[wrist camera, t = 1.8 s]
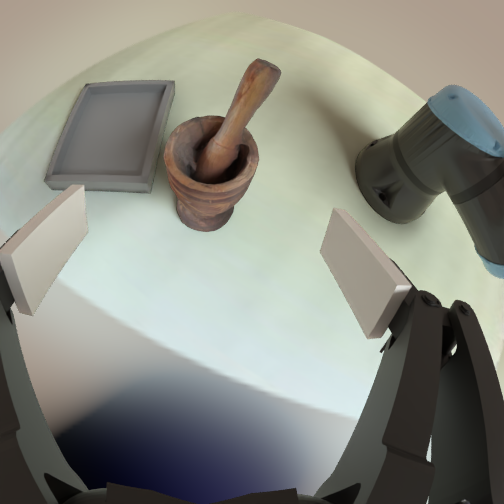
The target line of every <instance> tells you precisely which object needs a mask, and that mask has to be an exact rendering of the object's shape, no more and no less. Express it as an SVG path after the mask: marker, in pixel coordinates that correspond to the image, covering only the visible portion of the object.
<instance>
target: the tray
mask: <svg viewBox="0 0 504 504" xmlns="http://www.w3.org/2000/svg"><path fill="white" fill-rule="evenodd" d="M174 95H175V81H169V80H136V81H114V82H100V83H90V84H86V85H85V86H84V88H83V90H82V92H81V94H80V96H79V98H78V100H77V102H76V104H75V106H74V108H73V110H72V112H71V114H70V116H69V118H68V120H67V123H66V125H65V127H64V129H63V132H62V134H61V136H60V139H59V141H58V144H57V146H56V149H55V152H54V154H53V157H52V160H51V162H50V165H49V168H48V171H47V174H46V177H45V180H44V182H45V183H46V184H47V185H48V186H49V187H50V188H51V189H52V190H66V189H67V188H68V187H70V186H71V185H84V191H111V192H133V193H151V189H152V184H153V179H154V174H155V169H156V165H157V160H158V156H159V151H160V147H161V143H162V139H163V135H164V131H165V127H166V123H167V119H168V116H169V112H170V109H171V105H172V102H173V98H174Z"/></svg>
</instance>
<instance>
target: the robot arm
mask: <svg viewBox="0 0 504 504" xmlns="http://www.w3.org/2000/svg"><path fill="white" fill-rule="evenodd" d="M356 177H357V181H358V184H359V187H360V189H361V191H362V193H363V195H364V197H365V198H366V200H367V201H368V203H369V204H370V205H371V206H372V208H373V209H374V210H375V211H376V212H377V213H379V214H380V215H381V216H382V217H384V218H385V219H387V220H389V221H391V222H394V223H398V224H405V223H409V222H411V221H413V220H415V219H417V218H419V217H420V216H421V215H422V214H423V213H424V212H425V210H426V209H427V208H428V207H429V205H430V204H431V203H432V202H433V200H434V199H435V198H436V197H437V195H439V194H441V193H442V192H444V191H446V192H447V194H448V195H449V197H450V199H451V200H452V202H453V204H454V206H455V207H456V209H457V211H458V213H459V215H460V216H461V218H462V220H463V222H464V224H465V226H466V228H467V230H468V232H469V234H470V236H471V238H472V240H473V242H474V244H475V245H474V246H475V250H476V252H477V254H478V255H479V257H480V258H481V259H482V261H483V264H484V266H485V268H486V269H487V270H488V271H489V273H491V274H492V275H493V276H495V277H498V278H501V279H504V128H503V126H502V125H501V123H500V122H499V120H498V119H497V117H496V116H495V115H494V114H493V112H492V111H491V110H490V109H489V108H488V107H487V106H486V105H485V104H484V103H483V102H482V101H481V100H480V99H479V98H478V97H477V96H475V95H474V94H473V93H471V92H470V91H468V90H467V89H465V88H463V87H461V86H457V85H448V86H446V87H445V88H443V89H442V90H441V91H439V92H438V93H437V94H436V95H434V96H432V97H430V98H429V99H428V102H427V103H426V104H425V105H424V106H423V107H422V108H421V109H420V110H419V111H418V112H417V113H416V114H415V115H414V116H413V117H412V118H411V119H410V120H409V121H407V122H406V123H405V124H404V125H403V126H402V127H401V128H400V129H399V130H398V131H397V132H396V133H395V134H392V135H389V136H386V137H384V138H381V139H379V140H376V141H373V142H371V143H370V144H368V145H367V146H366V147H365V148H364V149H363V150H362V151H361V152H360V154H359V155H358V157H357V160H356ZM87 233H88V225H87V216H86V205H85V191H84V185H71V186H70V187H68V188H67V189H66V190H65V191H63V192H62V193H61V194H60V195H58V196H57V197H56V198H55V199H53V200H52V201H51V202H50V203H49V204H48V205H46V206H45V207H44V208H43V209H42V210H41V211H39V212H38V213H37V214H36V215H35V216H34V217H33V218H32V219H31V220H29V221H28V222H27V223H26V224H25V225H24V226H23V227H22V228H21V229H19V230H17V231H16V232H15V233H14V234H13V235H12V236H11V238H9V239H8V240H7V241H6V243H4V244H3V246H2V247H1V248H0V504H195V503H191V502H188V501H184V500H180V499H177V498H173V497H170V496H167V495H164V494H161V493H158V492H155V491H152V490H146V489H139V488H133V487H128V486H122V485H118V484H113V483H109V482H107V488H102V489H94V490H88V489H87V487H86V486H85V485H84V483H83V482H82V480H81V479H80V478H79V477H78V476H77V474H76V473H75V472H74V471H73V470H72V469H71V467H70V466H69V465H68V463H67V462H66V460H65V458H64V457H63V455H62V453H61V451H60V449H59V447H58V445H57V443H56V441H55V439H54V437H53V435H52V433H51V431H50V429H49V427H48V425H47V422H46V420H45V418H44V415H43V413H42V411H41V408H40V405H39V403H38V400H37V398H36V395H35V392H34V389H33V387H32V384H31V381H30V378H29V375H28V372H27V368H26V365H25V362H24V358H23V354H22V351H21V347H20V343H19V339H18V334H17V330H16V325H15V320H14V315H13V313H12V310H11V308H10V307H11V306H12V304H13V303H14V301H15V303H16V306H17V308H18V310H19V312H20V313H22V314H26V315H31V316H33V315H34V314H35V312H36V310H37V308H38V307H39V305H40V303H41V302H42V300H43V298H44V296H45V295H46V293H47V291H48V290H49V288H50V287H51V285H52V284H53V282H54V280H55V279H56V277H57V276H58V274H59V273H60V271H61V270H62V268H63V267H64V265H65V264H66V262H67V261H68V259H69V258H70V257H71V255H72V254H73V252H74V251H75V250H76V248H77V247H78V245H79V244H80V243H81V241H82V240H83V239H84V237H85V236H86V235H87ZM320 253H321V255H322V257H323V258H324V260H325V262H326V264H327V265H328V267H329V269H330V271H331V273H332V274H333V276H334V278H335V280H336V281H337V283H338V285H339V287H340V289H341V291H342V292H343V294H344V296H345V298H346V300H347V302H348V304H349V305H350V307H351V309H352V311H353V313H354V315H355V317H356V319H357V321H358V323H359V324H360V326H361V328H362V330H363V332H364V334H365V336H366V338H367V339H373V338H381V337H382V336H383V334H384V333H385V331H386V330H387V328H388V327H389V329H390V331H391V333H392V334H391V336H390V337H389V339H388V340H387V342H386V343H385V345H384V346H383V348H382V349H381V350H380V352H381V353H382V352H383V351H384V354H383V357H382V360H381V363H380V366H379V369H378V372H377V375H376V378H375V380H374V383H373V386H372V389H371V391H370V394H369V396H368V399H367V401H366V404H365V406H364V409H363V411H362V414H361V416H360V418H359V421H358V423H357V425H356V427H355V430H354V432H353V434H352V436H351V438H350V441H349V443H348V445H347V447H346V449H345V451H344V453H343V455H342V457H341V459H340V461H339V462H338V465H337V466H336V468H335V470H334V472H333V473H332V474H331V476H330V477H329V478H328V479H327V480H326V481H325V482H324V483H323V484H322V486H321V487H320V488H319V489H318V491H317V492H316V494H315V495H314V497H312V496H308V495H302V494H297V491H296V488H293V489H286V490H279V491H270V492H262V493H261V492H260V493H251V494H247V495H243V496H240V497H236V498H232V499H228V500H225V501H220V502H216V503H211V504H426V502H427V499H428V496H429V501H428V504H504V400H503V396H502V392H501V388H500V384H499V380H498V377H497V373H496V370H495V367H494V364H493V360H492V357H491V354H490V351H489V348H488V346H487V343H486V340H485V337H484V335H483V332H482V329H481V327H480V324H479V322H478V319H477V317H476V315H475V313H474V311H473V309H472V308H471V307H470V305H469V304H467V303H466V302H463V301H460V300H455V301H454V303H453V304H452V306H451V307H450V309H449V308H445V307H442V305H441V302H440V301H439V300H438V299H437V298H436V297H435V296H434V295H433V294H431V293H429V292H427V291H423V290H420V291H418V290H417V289H416V287H415V286H414V285H413V284H412V282H411V281H410V280H409V279H408V277H407V276H406V275H404V273H403V271H402V270H400V268H399V267H398V265H397V264H396V263H395V262H394V261H393V260H391V259H390V258H389V257H388V256H387V255H386V254H385V253H384V251H383V250H382V249H381V248H380V247H379V246H378V245H377V243H376V242H375V241H374V240H373V239H372V238H371V237H370V236H369V235H368V233H367V232H366V231H365V230H364V229H363V228H362V227H361V226H360V225H359V224H358V223H357V221H356V220H355V219H354V218H353V217H352V216H351V215H350V214H349V213H348V212H347V211H346V210H342V209H336V208H333V211H332V214H331V218H330V221H329V224H328V228H327V231H326V234H325V237H324V240H323V243H322V246H321V250H320ZM456 344H457V349H456V352H455V353H454V355H452V353H451V351H452V349H453V348H454V347H455V345H456ZM430 438H432V439H431V442H432V443H431V445H432V446H431V462H429V461H427V459H426V456H427V451H428V446H429V442H430Z"/></svg>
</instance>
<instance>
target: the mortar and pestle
mask: <svg viewBox="0 0 504 504" xmlns="http://www.w3.org/2000/svg"><path fill="white" fill-rule="evenodd" d="M280 75H281V70H280V69H279V68H278V67H277V66H275V65H273V64H271V63H270V62H268V61H265V60H261V59H259V58H257V59H256V60H255V61H254V62H252V63H251V64H250V65H249V67H248V68H247V70H246V72H245V73H244V75H243V77H242V80H241V82H240V84H239V86H238V89H237V91H236V94H235V96H234V99H233V101H232V104H231V106H230V108H229V110H228V113H227V115H226V117H221V116H204V117H195V118H193V119H190V120H188V121H186V122H184V123H182V124H180V125H179V126H178V127H177V128H176V129H175V130H174V131H173V132H172V133H171V135H170V136H169V138H168V141H167V143H166V146H165V151H164V156H163V158H164V162H165V165H166V169H167V173H168V180H169V183H170V186H171V189H172V190H173V191H174V192H175V194H176V196H177V198H178V201H177V212H178V214H179V217H180V219H181V221H182V223H184V224H185V225H187V226H188V227H189V228H192V229H194V230H198V231H203V232H209V231H215V230H217V229H219V228H221V227H222V226H223V225H225V224H226V223H227V222H228V220H229V219H230V217H231V215H232V213H233V209H234V205H235V204H236V203H237V202H238V201H239V200H240V199H241V198H242V197H243V195H244V194H245V192H246V191H247V189H248V187H249V185H250V182H251V180H252V178H253V176H254V174H255V171H256V168H257V166H258V161H259V155H258V148H257V145H256V142H255V141H254V139H253V137H252V135H251V134H250V132H249V131H248V130H247V129H246V128H245V127H246V125H247V124H248V122H249V121H250V119H251V118H252V116H253V115H254V113H255V111H256V110H257V109H258V108H259V107H260V106H261V105H262V103H263V102H264V101H265V99H266V98H267V97H268V96H269V94H270V93H271V92H272V90H273V88H274V87H275V85H276V83H277V82H278V80H279V78H280Z"/></svg>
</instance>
